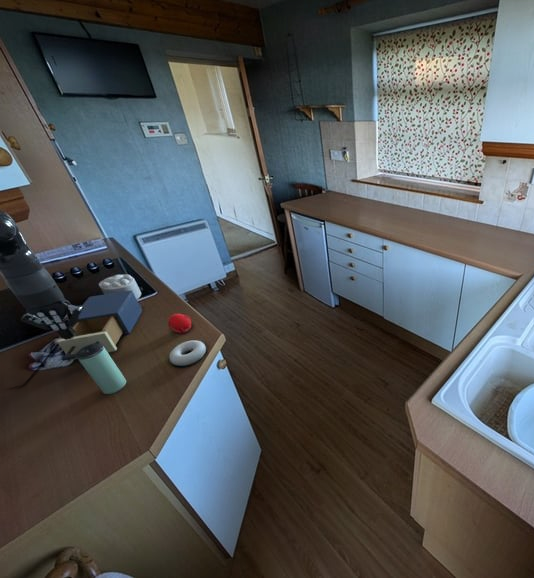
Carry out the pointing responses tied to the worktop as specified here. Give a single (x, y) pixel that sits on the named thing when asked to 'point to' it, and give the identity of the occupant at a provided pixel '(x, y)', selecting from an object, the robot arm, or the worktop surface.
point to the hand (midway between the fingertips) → (70, 337)
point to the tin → (101, 368)
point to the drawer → (92, 335)
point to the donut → (182, 360)
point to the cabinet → (113, 308)
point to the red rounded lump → (179, 323)
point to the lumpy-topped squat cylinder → (120, 285)
